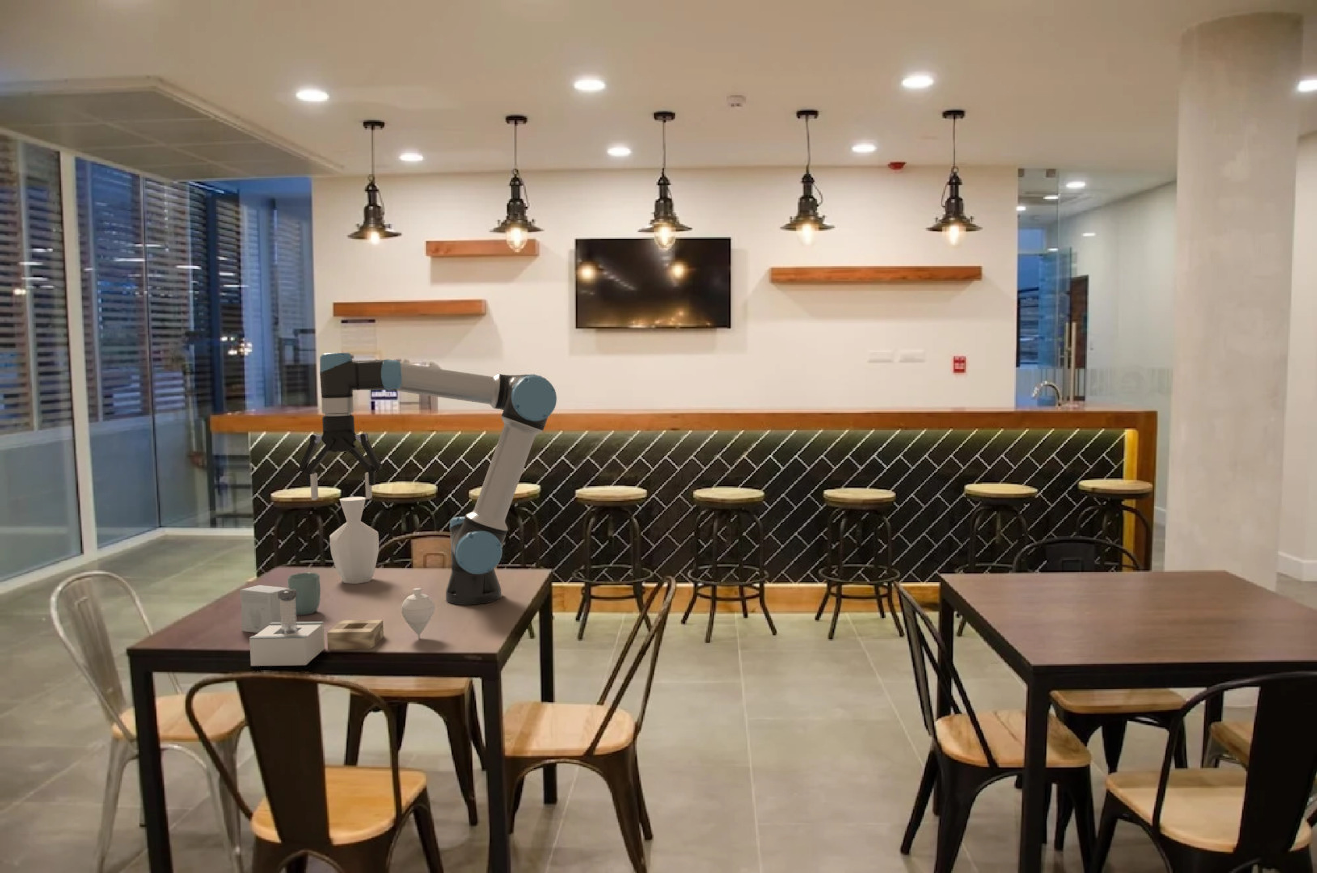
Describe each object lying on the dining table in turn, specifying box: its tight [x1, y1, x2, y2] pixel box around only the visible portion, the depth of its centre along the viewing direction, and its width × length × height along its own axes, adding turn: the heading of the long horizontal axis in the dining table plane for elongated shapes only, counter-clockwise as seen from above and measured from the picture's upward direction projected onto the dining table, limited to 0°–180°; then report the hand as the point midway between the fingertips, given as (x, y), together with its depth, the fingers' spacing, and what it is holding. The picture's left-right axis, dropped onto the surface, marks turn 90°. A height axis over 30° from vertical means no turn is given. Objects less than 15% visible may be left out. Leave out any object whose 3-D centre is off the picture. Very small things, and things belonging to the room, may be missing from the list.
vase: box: [329, 496, 380, 585], centre depth 284 cm, size 14×14×25 cm
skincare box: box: [239, 584, 290, 634], centre depth 233 cm, size 10×6×10 cm, turn 66°
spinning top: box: [400, 587, 435, 639], centre depth 225 cm, size 8×8×12 cm
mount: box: [326, 619, 385, 650], centre depth 222 cm, size 10×10×4 cm
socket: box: [249, 621, 326, 667], centre depth 212 cm, size 12×12×6 cm
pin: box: [278, 589, 298, 634], centre depth 211 cm, size 4×4×15 cm
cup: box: [287, 572, 321, 616], centre depth 248 cm, size 8×8×10 cm
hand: (342, 499), depth 237 cm, fingers open, 13 cm apart
